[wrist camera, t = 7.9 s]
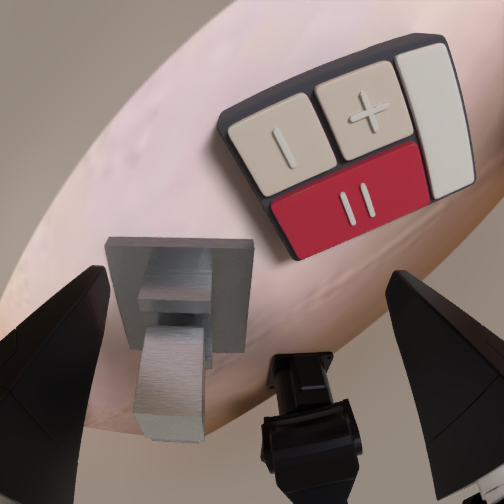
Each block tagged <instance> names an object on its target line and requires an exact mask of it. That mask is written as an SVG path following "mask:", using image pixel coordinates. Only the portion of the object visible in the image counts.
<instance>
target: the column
mask: <svg viewBox="0 0 504 504" xmlns="http://www.w3.org/2000/svg"><path fill="white" fill-rule="evenodd" d="M133 415H134V417H135V419H136V421H137V423H138V425H139V426H140V428H141V430H142V432H143V434H144V436H145V438H151V439H152V440H153V441H166V442H181V443H199V441H205V440H204V439H205V345H204V327H189V326H162V325H147V330H146V335H145V340H144V345H143V351H142V356H141V362H140V368H139V374H138V380H137V386H136V392H135V399H134V406H133Z"/></svg>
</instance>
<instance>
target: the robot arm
mask: <svg viewBox="0 0 504 504" xmlns="http://www.w3.org/2000/svg"><path fill="white" fill-rule="evenodd" d="M385 296H386V300H387V305H388V309H389V313H390V317H391V321H392V326H393V330H394V334H395V337H396V341H397V344H398V347H399V350H400V353H401V356H402V359H403V363H404V366H405V369H406V372H407V376H408V379H409V383H410V386H411V390H412V393H413V397H414V400H415V404H416V408H417V411H418V415H419V419H420V423H421V427H422V431H423V435H424V439H425V443H426V449H427V453H428V458H429V462H430V467H431V472H432V477H433V482H434V488H435V493H436V498H437V500H441V499H443V498H445V497H448V496H450V495H452V494H454V493H457V492H459V491H461V490H463V489H465V488H467V487H469V486H471V485H473V484H475V483H477V484H478V488H479V491H480V492H479V493H477V494H475V495H473V496H471V497H469V498H467V499H465V500H464V501H463V503H462V504H504V341H503V340H502V339H500V338H499V337H498V336H496V335H495V334H494V333H492V332H491V331H490V330H488V329H487V328H486V327H484V326H482V325H481V324H480V323H479V322H477V321H476V320H475V319H474V318H472V317H471V316H469V315H468V314H467V313H466V312H464V311H463V310H461V309H460V308H459V307H457V306H456V305H455V304H453V303H452V302H450V301H449V300H448V299H446V298H445V297H443V296H442V295H441V294H439V293H438V292H436V291H435V290H433V289H432V288H430V287H429V286H427V285H426V284H425V283H423V282H422V281H420V280H419V279H418V278H416V277H415V276H413V275H412V274H410V273H409V272H407V271H405V270H396V271H394V272H393V273H392V276H391V278H390V280H389V283H388V285H387V288H386V291H385ZM109 298H110V285H109V281H108V277H107V272H106V269H105V267H104V266H100V265H92V266H90V267H89V268H87V269H86V270H85V271H84V272H82V273H81V274H80V275H78V276H77V277H76V278H75V279H73V280H72V281H71V282H70V283H68V284H67V285H66V286H65V287H63V288H62V289H61V290H60V291H58V292H57V293H56V294H55V295H54V296H52V297H51V298H50V299H49V300H47V301H46V302H45V303H44V304H43V305H41V306H40V307H39V308H38V309H37V310H36V311H34V312H33V313H32V314H31V315H30V316H29V317H27V318H26V319H25V320H24V321H23V322H22V323H20V324H19V325H18V326H17V327H16V329H14V330H12V331H11V332H10V333H9V334H8V335H7V336H6V337H4V338H3V339H2V340H1V341H0V504H73V502H74V491H75V482H76V474H77V466H78V462H77V461H78V458H79V451H80V444H81V438H82V432H83V426H84V421H85V415H86V410H87V405H88V400H89V395H90V391H91V386H92V381H93V377H94V373H95V368H96V364H97V360H98V356H99V352H100V348H101V344H102V340H103V335H104V329H105V322H106V316H107V310H108V304H109ZM333 357H334V356H333V353H332V352H322V353H304V354H279V355H275V356H274V357H273V362H272V367H271V371H270V376H269V380H268V384H267V385H268V389H276V394H277V400H278V408H279V416H273V417H264V424H262V425H261V428H262V448H261V461H262V462H264V463H265V464H266V465H267V467H268V469H269V472H270V473H271V474H275V478H276V483H277V486H278V487H279V488H280V489H281V491H283V493H284V494H285V495H286V496H287V497H288V498H289V499H290V500H291V501H292V502H293V504H348V502H347V499H348V497H349V494H350V492H351V489H352V487H353V484H354V481H355V478H356V476H357V473H358V471H359V463H358V458H357V456H358V455H362V444H361V438H360V434H359V430H358V427H357V424H356V421H355V418H354V415H353V412H352V409H351V406H350V404H349V401H348V399H344V400H343V401H340V402H336V403H334V402H333V398H332V394H331V390H330V387H329V383H328V378H327V375H326V373H327V371H328V369H329V366H330V364H331V362H332V360H333Z"/></svg>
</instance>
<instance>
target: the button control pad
mask: <svg viewBox="0 0 504 504" xmlns="http://www.w3.org/2000/svg"><path fill="white" fill-rule="evenodd" d="M217 130H218V132H219V134H220V135H221V137H222V139H223V140H224V142H225V144H226V145H227V147H228V149H229V150H230V152H231V154H232V155H233V157H234V159H235V160H236V162H237V164H238V165H239V167H240V169H241V170H242V172H243V174H244V176H245V177H246V179H247V181H248V182H249V184H250V186H251V188H252V189H253V191H254V193H255V194H256V196H257V198H258V200H259V201H260V203H261V205H262V206H263V208H264V210H265V212H266V213H267V215H268V217H269V219H270V220H271V222H272V224H273V226H274V227H275V229H276V231H277V233H278V234H279V236H280V238H281V240H282V241H283V243H284V245H285V247H286V249H287V250H288V252H289V254H290V256H291V257H292V259H293V260H295V261H300V260H303V259H305V258H307V257H310V256H312V255H314V254H317V253H319V252H322V251H324V250H326V249H329V248H331V247H333V246H336V245H338V244H340V243H343V242H345V241H347V240H350V239H352V238H354V237H357V236H359V235H361V234H364V233H366V232H368V231H370V230H373V229H375V228H377V227H380V226H382V225H384V224H386V223H389V222H391V221H393V220H396V219H398V218H400V217H402V216H405V215H407V214H409V213H411V212H414V211H416V210H418V209H420V208H422V207H425V206H427V205H429V204H431V203H434V202H436V201H438V200H440V199H442V198H445V197H447V196H449V195H451V194H453V193H455V192H458V191H460V190H462V189H464V188H466V187H468V186H471V185H472V184H474V183H475V181H476V170H475V162H474V155H473V148H472V142H471V136H470V130H469V125H468V119H467V114H466V110H465V105H464V101H463V96H462V92H461V88H460V84H459V80H458V77H457V73H456V69H455V66H454V62H453V59H452V56H451V53H450V49H449V46H448V43H447V41H446V39H445V37H444V36H442V35H437V34H424V33H412V34H409V35H405V36H402V37H398V38H395V39H392V40H389V41H386V42H383V43H380V44H377V45H374V46H371V47H369V48H366V49H364V50H361V51H359V52H356V53H353V54H350V55H347V56H345V57H342V58H339V59H337V60H334V61H331V62H329V63H326V64H324V65H321V66H319V67H316V68H314V69H311V70H309V71H306V72H304V73H302V74H299V75H297V76H295V77H292V78H290V79H288V80H285V81H283V82H281V83H279V84H277V85H275V86H272V87H270V88H268V89H266V90H264V91H262V92H260V93H258V94H256V95H254V96H252V97H250V98H248V99H246V100H244V101H242V102H240V103H238V104H236V105H234V106H232V107H230V108H228V109H226V110H224V111H223V112H222V113H221V114H220V117H219V120H218V124H217Z"/></svg>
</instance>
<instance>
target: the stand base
mask: <svg viewBox="0 0 504 504" xmlns="http://www.w3.org/2000/svg"><path fill="white" fill-rule="evenodd" d="M105 251H106V256H107V260H108V265H109V270H110V274H111V278H112V282H113V287H114V291H115V295H116V299H117V303H118V306H119V310H120V314H121V317H122V321H123V325H124V328H125V332H126V335H127V338H128V342H129V345H130V348H131V349H139V350H143V345H144V340H145V335H146V330H147V325H162V326H189V327H204V345H205V369H212V353H244V348H245V338H246V328H247V318H248V308H249V298H250V288H251V278H252V268H253V258H254V242H253V240H250V239H206V238H152V237H109V238H108V240H107V242H106V244H105Z"/></svg>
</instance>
